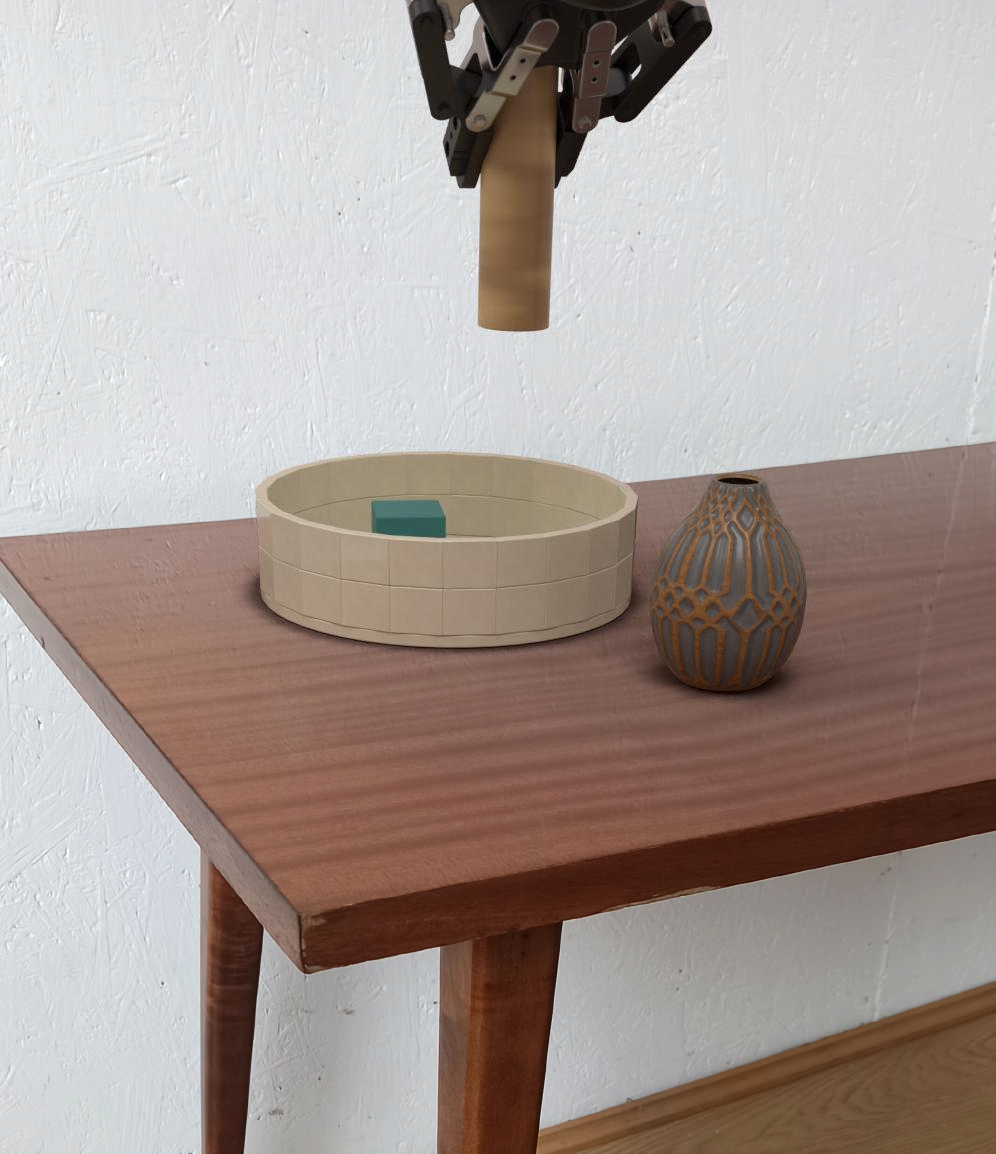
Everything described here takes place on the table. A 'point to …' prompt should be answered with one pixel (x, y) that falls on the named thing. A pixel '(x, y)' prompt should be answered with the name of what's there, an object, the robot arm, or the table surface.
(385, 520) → the block
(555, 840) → the table surface
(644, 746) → the table surface
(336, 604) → the bowl
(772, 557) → the vase
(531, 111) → the stick
